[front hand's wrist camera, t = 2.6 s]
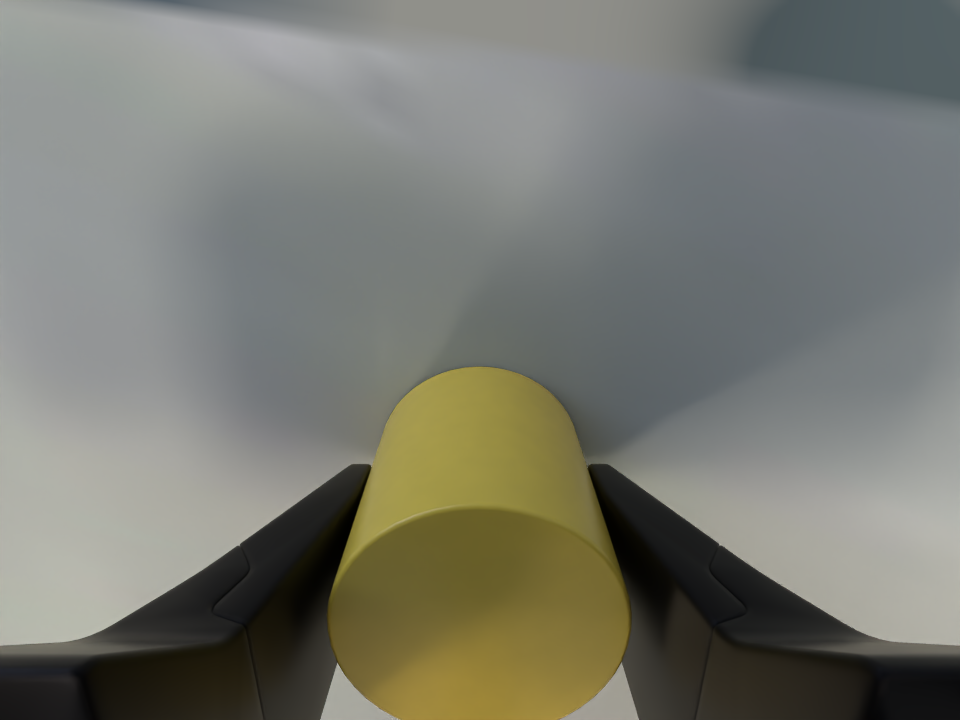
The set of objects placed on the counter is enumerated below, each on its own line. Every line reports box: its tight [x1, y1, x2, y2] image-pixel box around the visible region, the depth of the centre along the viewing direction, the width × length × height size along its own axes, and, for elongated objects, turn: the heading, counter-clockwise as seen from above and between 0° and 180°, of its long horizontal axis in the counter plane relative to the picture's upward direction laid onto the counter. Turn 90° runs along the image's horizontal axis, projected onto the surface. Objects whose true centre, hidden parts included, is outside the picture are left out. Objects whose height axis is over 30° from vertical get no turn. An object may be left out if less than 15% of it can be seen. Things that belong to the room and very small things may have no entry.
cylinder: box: [327, 367, 632, 720], centre depth 10 cm, size 4×4×5 cm
